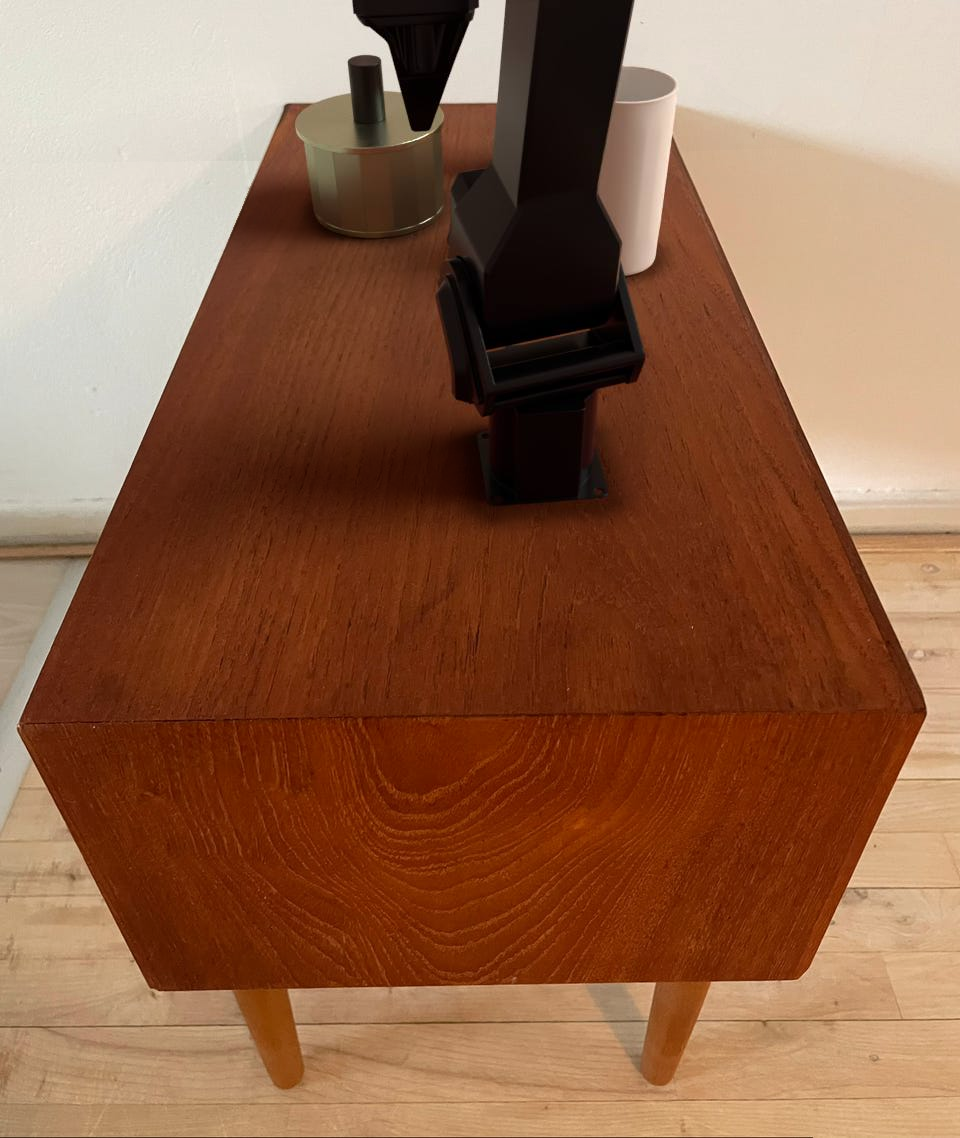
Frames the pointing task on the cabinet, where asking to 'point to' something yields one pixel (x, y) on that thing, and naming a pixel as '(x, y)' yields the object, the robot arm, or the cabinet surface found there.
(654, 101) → the mug
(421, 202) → the tin
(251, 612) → the cabinet surface
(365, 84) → the lid
